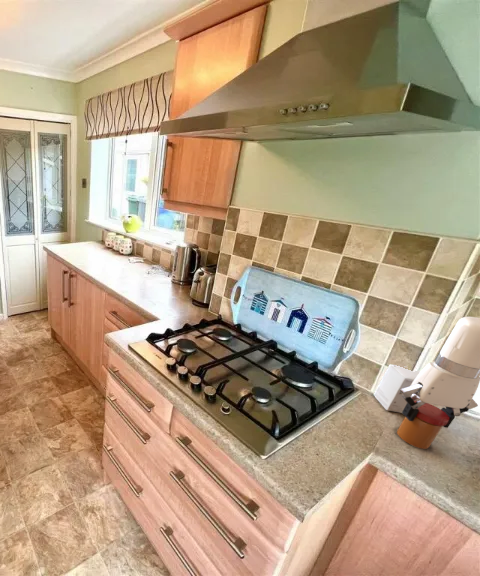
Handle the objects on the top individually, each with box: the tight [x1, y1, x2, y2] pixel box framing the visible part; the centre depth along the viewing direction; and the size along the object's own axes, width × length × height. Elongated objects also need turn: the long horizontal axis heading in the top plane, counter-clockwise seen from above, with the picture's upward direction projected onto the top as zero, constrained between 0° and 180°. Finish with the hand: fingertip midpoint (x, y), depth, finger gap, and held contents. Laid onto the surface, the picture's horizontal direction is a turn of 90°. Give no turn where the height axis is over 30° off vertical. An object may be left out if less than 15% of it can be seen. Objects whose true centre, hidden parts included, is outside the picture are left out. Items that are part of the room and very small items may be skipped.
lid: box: [414, 401, 449, 426], centre depth 81 cm, size 7×7×2 cm
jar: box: [396, 416, 444, 450], centre depth 82 cm, size 7×7×10 cm
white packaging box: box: [373, 363, 421, 414], centre depth 94 cm, size 7×7×13 cm
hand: (424, 419), depth 82 cm, fingers closed on lid, 7 cm apart
